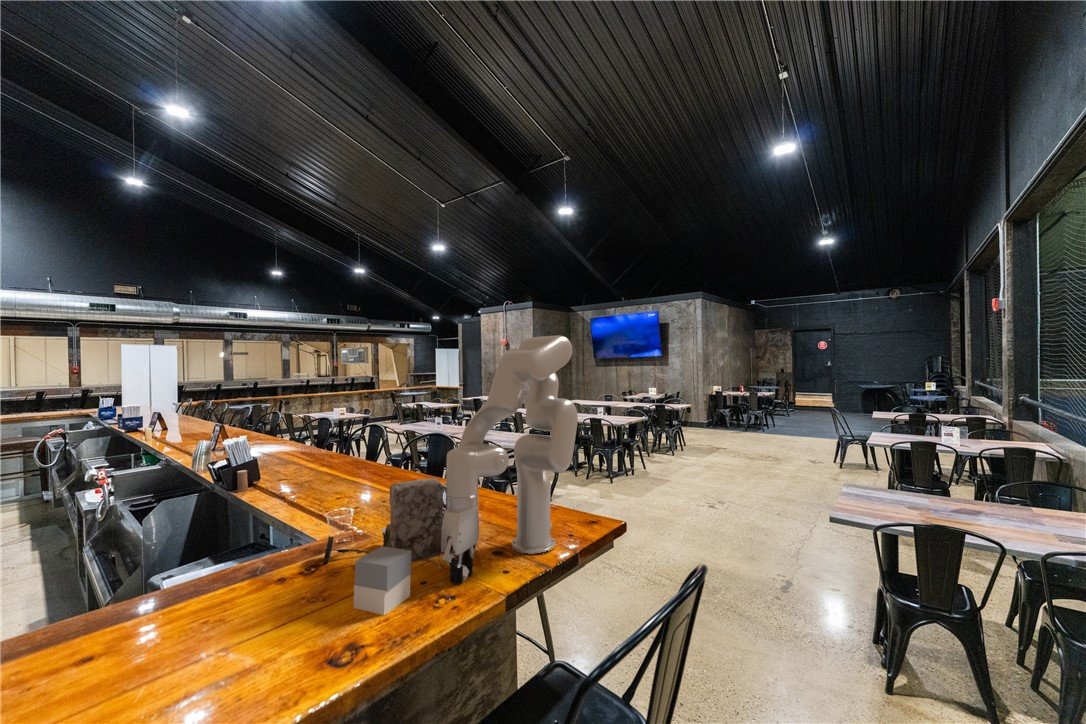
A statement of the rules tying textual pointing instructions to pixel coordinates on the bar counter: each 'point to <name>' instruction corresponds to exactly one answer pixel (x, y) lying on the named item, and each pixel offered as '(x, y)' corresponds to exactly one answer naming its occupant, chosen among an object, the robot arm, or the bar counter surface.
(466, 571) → the game die
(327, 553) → the artificial flower
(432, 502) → the stone block
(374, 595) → the lower block
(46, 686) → the bar counter surface
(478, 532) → the robot arm
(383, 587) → the upper block
